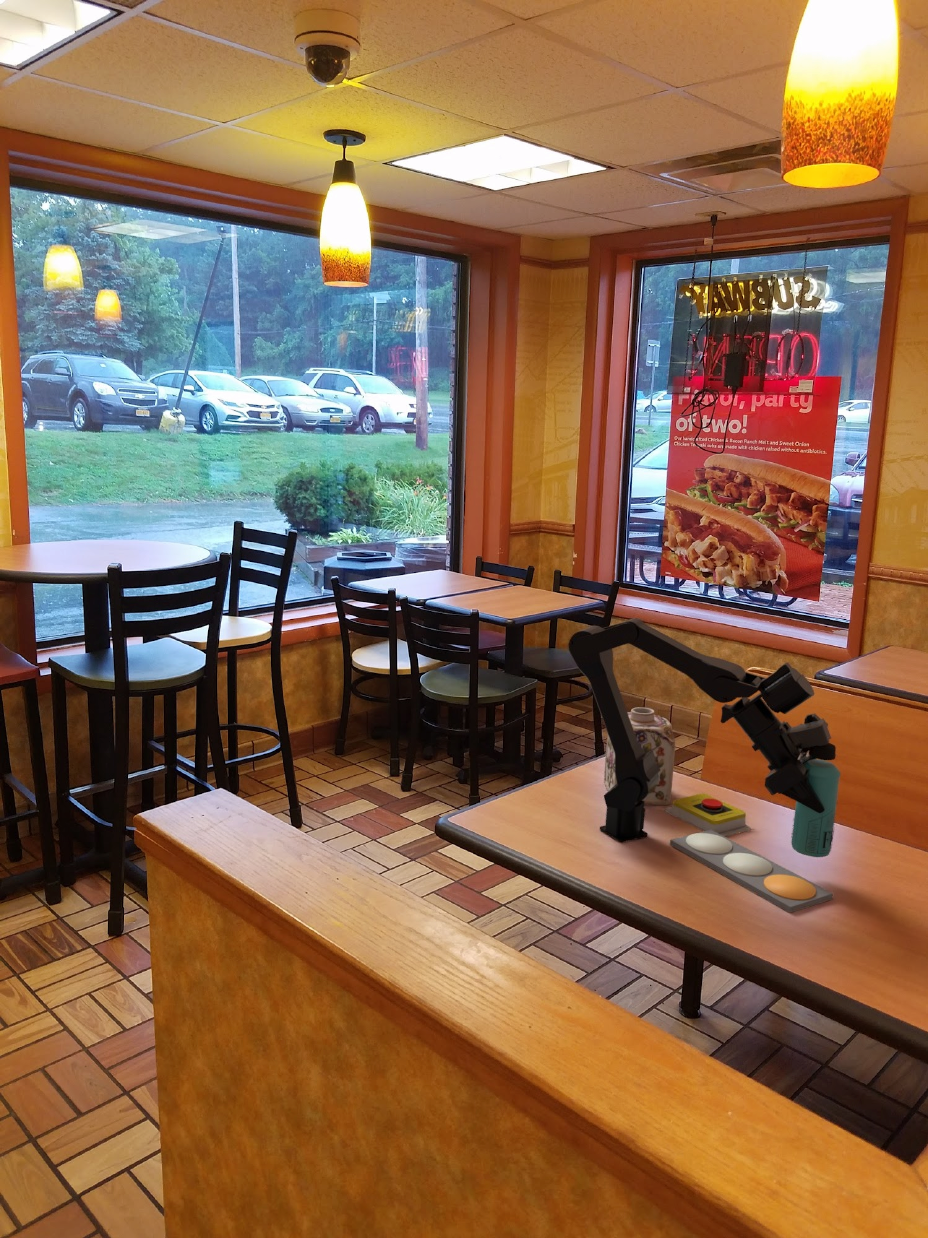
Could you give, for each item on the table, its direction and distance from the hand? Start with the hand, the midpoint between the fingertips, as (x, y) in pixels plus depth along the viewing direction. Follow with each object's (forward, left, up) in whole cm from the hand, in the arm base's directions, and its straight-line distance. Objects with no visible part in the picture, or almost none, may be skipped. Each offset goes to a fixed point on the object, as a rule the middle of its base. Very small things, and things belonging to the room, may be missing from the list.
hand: (825, 805), depth 155 cm
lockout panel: (-8, +8, -13) cm, 17 cm away
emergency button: (+1, +27, -14) cm, 30 cm away
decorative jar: (-3, +43, -13) cm, 45 cm away
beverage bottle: (-1, +1, -10) cm, 10 cm away
